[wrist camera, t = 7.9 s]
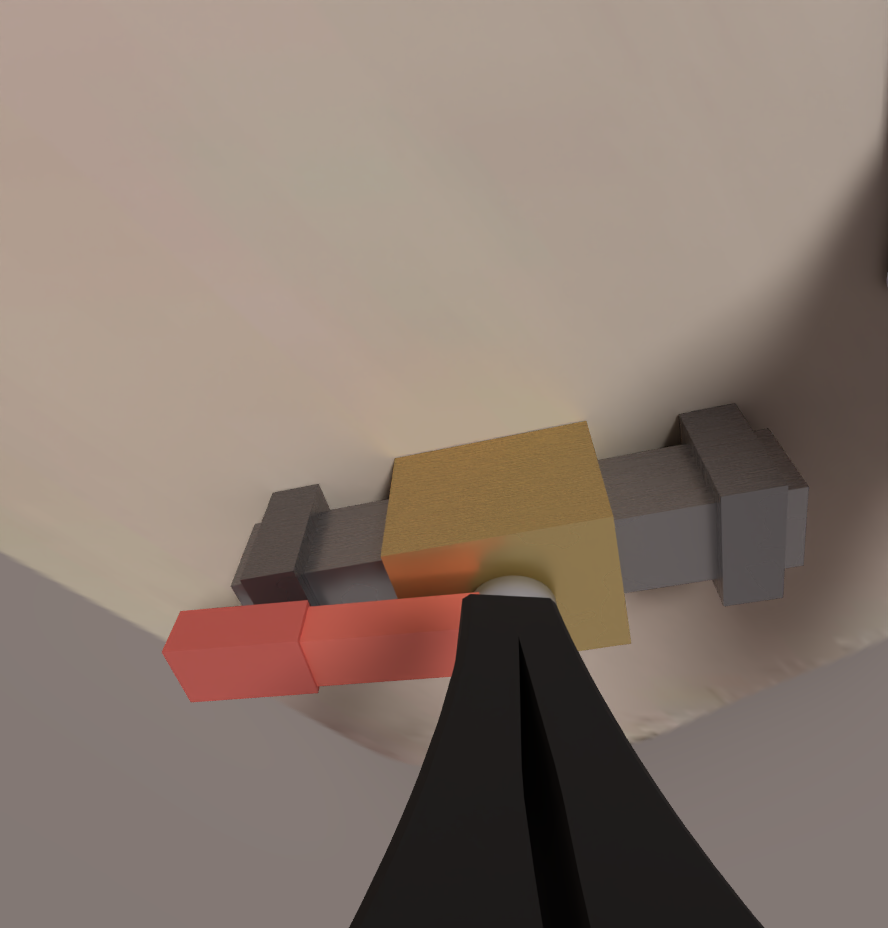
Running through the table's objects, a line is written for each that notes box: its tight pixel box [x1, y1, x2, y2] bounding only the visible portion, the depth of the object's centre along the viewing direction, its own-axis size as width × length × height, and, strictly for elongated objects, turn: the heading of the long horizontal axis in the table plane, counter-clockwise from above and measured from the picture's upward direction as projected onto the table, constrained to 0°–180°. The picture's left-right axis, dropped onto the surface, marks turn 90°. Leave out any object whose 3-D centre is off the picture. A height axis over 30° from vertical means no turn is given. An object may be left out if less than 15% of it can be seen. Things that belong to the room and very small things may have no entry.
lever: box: [162, 575, 557, 702], centre depth 18 cm, size 10×2×2 cm, turn 98°
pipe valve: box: [231, 404, 809, 651], centre depth 20 cm, size 16×5×5 cm, turn 104°
